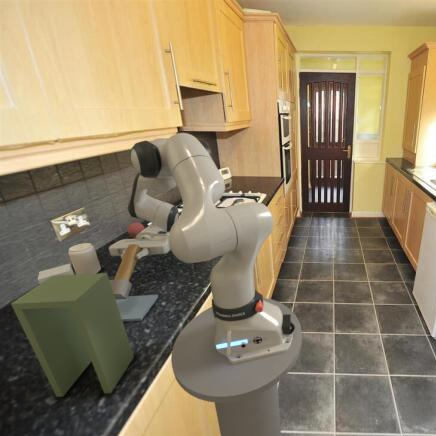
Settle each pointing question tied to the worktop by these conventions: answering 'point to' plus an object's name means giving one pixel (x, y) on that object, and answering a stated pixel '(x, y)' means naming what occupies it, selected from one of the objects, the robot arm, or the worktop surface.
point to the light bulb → (135, 229)
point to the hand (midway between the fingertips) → (129, 257)
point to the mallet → (125, 273)
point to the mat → (135, 307)
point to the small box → (55, 272)
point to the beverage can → (84, 259)
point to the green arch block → (75, 329)
